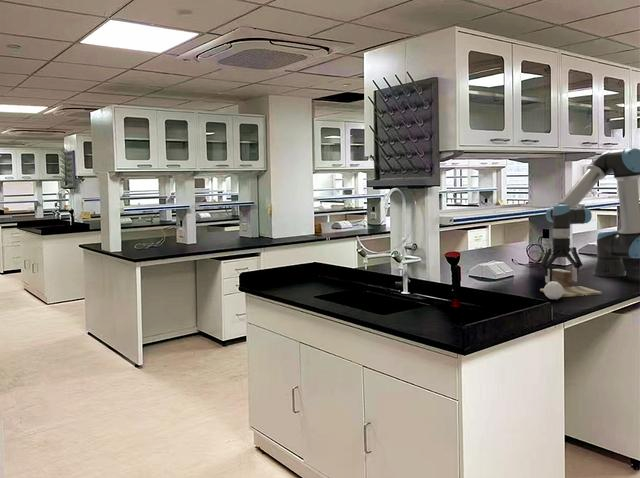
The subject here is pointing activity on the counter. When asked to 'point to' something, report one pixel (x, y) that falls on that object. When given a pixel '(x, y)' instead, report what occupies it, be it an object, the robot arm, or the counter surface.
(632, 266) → the counter surface
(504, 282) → the counter surface
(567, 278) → the wooden block
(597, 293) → the board
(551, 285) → the geometric ball
